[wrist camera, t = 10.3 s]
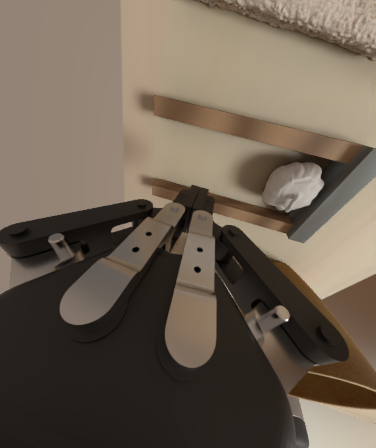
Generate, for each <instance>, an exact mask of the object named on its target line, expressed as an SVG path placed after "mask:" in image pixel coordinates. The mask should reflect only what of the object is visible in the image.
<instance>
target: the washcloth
mask: <svg viewBox="0 0 376 448" xmlns="http://www.w3.org/2000/svg"><path fill="white" fill-rule="evenodd" d="M196 1H199V0H196ZM200 1H202V2H204V3H206V4H209V6H210V8H211V7H212V6H214V5H218V6H219V7H220V9H228V10H231V11H235V12H239V13H241V14H242V15H244V16H246V15H248V16H249V18H251V17H252V18H255V19H256V20H257V21H259V22H262V21H265V22H267V23H269V24H270V26H274V27H277V26H279V27H281V29H288V30H299V31H301V33H304V34H308V35H309V36H310V37H319V38H322V39H324V40H326V41H328V42H329V43H337V44H338V45H339V46H341V47H344V48H348V49H349V50H350V51H353V52H358V53H360V56H361V55H362V56H367V57H369V58H370V59H371V60H376V0H200Z"/></svg>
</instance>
